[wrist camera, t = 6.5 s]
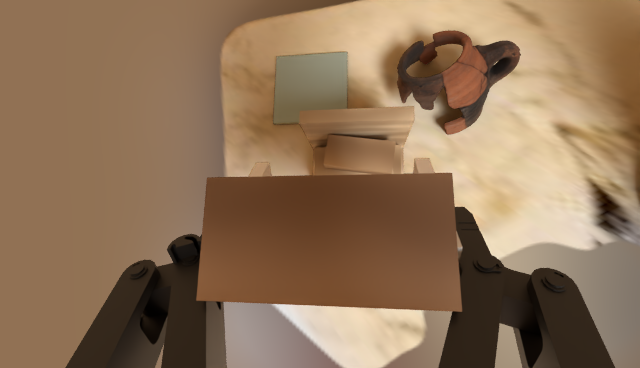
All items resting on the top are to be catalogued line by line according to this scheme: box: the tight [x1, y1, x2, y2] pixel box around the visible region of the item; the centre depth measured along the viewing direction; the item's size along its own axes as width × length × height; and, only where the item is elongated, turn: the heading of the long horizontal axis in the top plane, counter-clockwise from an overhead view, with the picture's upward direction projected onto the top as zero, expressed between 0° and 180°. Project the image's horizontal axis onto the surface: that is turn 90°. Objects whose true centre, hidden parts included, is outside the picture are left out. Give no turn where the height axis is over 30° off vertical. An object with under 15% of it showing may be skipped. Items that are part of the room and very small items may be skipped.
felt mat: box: [273, 52, 347, 124], centre depth 38 cm, size 9×9×1 cm
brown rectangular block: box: [196, 173, 462, 312], centre depth 15 cm, size 4×8×12 cm, turn 89°
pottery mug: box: [397, 31, 521, 134], centre depth 33 cm, size 12×10×8 cm
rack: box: [299, 106, 414, 176], centre depth 30 cm, size 16×10×9 cm, turn 178°
